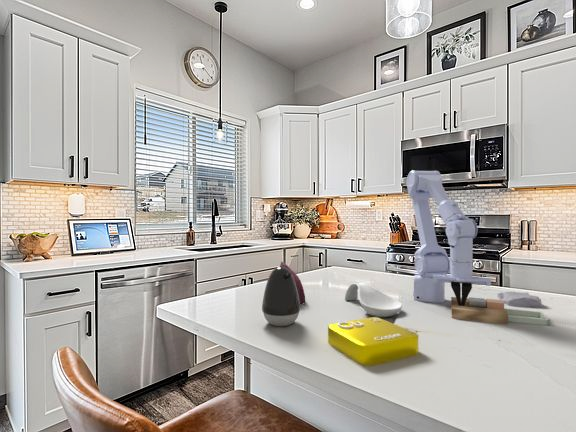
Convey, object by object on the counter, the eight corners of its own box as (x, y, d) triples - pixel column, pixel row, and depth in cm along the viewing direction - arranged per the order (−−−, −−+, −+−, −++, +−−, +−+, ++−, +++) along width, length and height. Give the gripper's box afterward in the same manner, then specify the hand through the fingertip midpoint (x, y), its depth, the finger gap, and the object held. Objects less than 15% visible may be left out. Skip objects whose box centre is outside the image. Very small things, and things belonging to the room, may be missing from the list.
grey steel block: (469, 314, 97) (469, 300, 97) (468, 311, 100) (468, 297, 100) (485, 316, 95) (485, 301, 95) (484, 312, 99) (484, 298, 99)
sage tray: (507, 324, 91) (507, 315, 91) (503, 316, 99) (503, 308, 99) (549, 329, 87) (549, 320, 87) (542, 320, 95) (542, 311, 95)
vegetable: (271, 314, 113) (258, 270, 112) (284, 302, 122) (271, 261, 122) (300, 309, 109) (287, 263, 108) (311, 297, 118) (298, 255, 117)
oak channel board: (451, 321, 94) (451, 308, 94) (451, 308, 107) (451, 297, 107) (507, 327, 89) (508, 314, 89) (500, 313, 101) (500, 301, 101)
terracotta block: (487, 316, 95) (487, 302, 95) (485, 312, 99) (485, 298, 99) (504, 318, 93) (504, 303, 93) (502, 314, 97) (502, 300, 97)
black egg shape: (272, 332, 86) (271, 271, 86) (256, 321, 96) (255, 265, 95) (307, 326, 91) (307, 268, 91) (289, 315, 100) (288, 263, 100)
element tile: (364, 369, 67) (364, 344, 67) (324, 343, 80) (324, 322, 80) (422, 355, 73) (422, 332, 73) (376, 333, 87) (376, 314, 87)
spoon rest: (410, 318, 98) (410, 293, 97) (374, 323, 94) (374, 297, 94) (364, 299, 120) (364, 278, 120) (334, 302, 116) (334, 280, 116)
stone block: (510, 316, 105) (546, 311, 103) (506, 300, 105) (542, 295, 103) (494, 307, 117) (527, 302, 115) (491, 293, 117) (523, 288, 115)
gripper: (433, 261, 99) (433, 309, 99) (492, 264, 93) (492, 315, 93) (434, 258, 105) (434, 303, 105) (489, 261, 99) (489, 308, 99)
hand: (461, 308), depth 99 cm, fingers closed
